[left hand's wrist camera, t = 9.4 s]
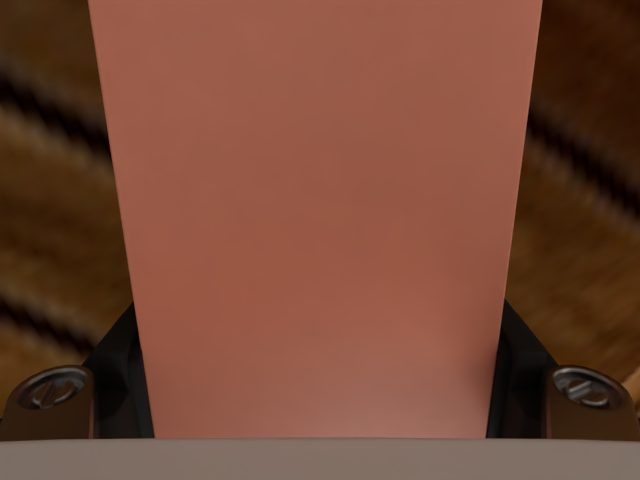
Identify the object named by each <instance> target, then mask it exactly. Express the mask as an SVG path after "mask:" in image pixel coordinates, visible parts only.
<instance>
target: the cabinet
mask: <svg viewBox="0 0 640 480" xmlns="http://www.w3.org/2000/svg"><path fill="white" fill-rule="evenodd" d="M542 1H543V0H88V5H89V11H90V18H91V24H92V31H93V37H94V44H95V51H96V57H97V64H98V70H99V77H100V83H101V90H102V96H103V103H104V109H105V116H106V123H107V129H108V136H109V142H110V149H111V155H112V162H113V168H114V175H115V182H116V188H117V195H118V201H119V208H120V214H121V221H122V227H123V234H124V240H125V247H126V254H127V260H128V267H129V273H130V280H131V286H132V293H133V299H134V306H135V313H136V319H137V326H138V332H139V339H140V345H141V350H142V355H143V362H144V369H145V376H146V383H147V390H148V397H149V404H150V411H151V417H152V424H153V430H154V437H155V438H262V437H380V438H486V433H487V426H488V419H489V412H490V404H491V397H492V389H493V381H494V373H495V365H496V358H497V350H498V342H499V334H500V327H501V319H502V311H503V303H504V296H505V288H506V280H507V272H508V265H509V257H510V249H511V241H512V234H513V226H514V218H515V210H516V202H517V195H518V187H519V179H520V171H521V164H522V156H523V148H524V140H525V133H526V125H527V117H528V109H529V102H530V94H531V86H532V78H533V71H534V63H535V55H536V47H537V39H538V32H539V24H540V16H541V8H542Z"/></svg>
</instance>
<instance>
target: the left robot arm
mask: <svg viewBox="0 0 640 480" xmlns="http://www.w3.org/2000/svg"><path fill="white" fill-rule="evenodd" d="M0 480H640V419H639V418H638V417H637V414H636V411H635V407H634V404H633V401H632V398H631V396H630V394H629V393H628V391H627V390H626V389H625V388H624V387H623V386H622V385H621V384H620V383H619V382H617V381H616V380H614V379H613V378H611V377H609V376H608V375H605V374H603V373H601V372H599V371H597V370H593V369H590V368H587V367H583V366H576V365H560V366H559V365H558V364H557V362H556V361H555V360H554V359H553V357H552V356H551V355H550V354H549V352H548V351H547V350H546V349H545V347H544V346H543V345H542V344H541V342H540V341H539V340H538V339H537V337H536V336H535V335H534V334H533V332H532V331H531V330H530V329H529V327H528V326H527V325H526V324H525V322H524V321H523V320H522V319H521V317H520V316H519V315H518V314H517V313H516V312H515V311H514V310H513V308H512V307H511V306H510V304H509V303H508V302H507V301H506V299H505V298H504V303H503V311H502V319H501V327H500V334H499V342H498V350H497V358H496V365H495V373H494V381H493V389H492V397H491V404H490V412H489V419H488V426H487V433H486V438H380V437H262V438H155V437H154V430H153V424H152V417H151V411H150V404H149V397H148V390H147V383H146V376H145V369H144V362H143V355H142V350H141V345H140V339H139V332H138V326H137V319H136V313H135V306H134V301H133V302H132V304H131V305H130V306H129V307H128V309H127V310H126V311H125V312H124V313H123V314H122V315H121V317H120V318H119V319H118V320H117V322H116V323H115V324H114V325H113V327H112V328H111V329H110V330H109V332H108V333H107V334H106V335H105V337H104V338H103V339H102V340H101V342H100V343H99V344H98V345H97V347H96V348H95V349H94V350H93V352H92V353H91V354H90V355H89V357H88V358H87V359H86V360H85V362H84V363H83V364H82V365H81V366H80V365H64V366H57V367H53V368H50V369H47V370H43V371H41V372H39V373H37V374H35V375H32V376H30V377H29V378H27V379H26V380H24V381H23V382H21V383H20V384H19V385H18V386H17V387H16V388H15V389H14V390H13V391H12V393H11V394H10V396H9V398H8V401H7V404H6V407H5V411H4V414H3V417H2V418H1V419H0Z"/></svg>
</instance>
